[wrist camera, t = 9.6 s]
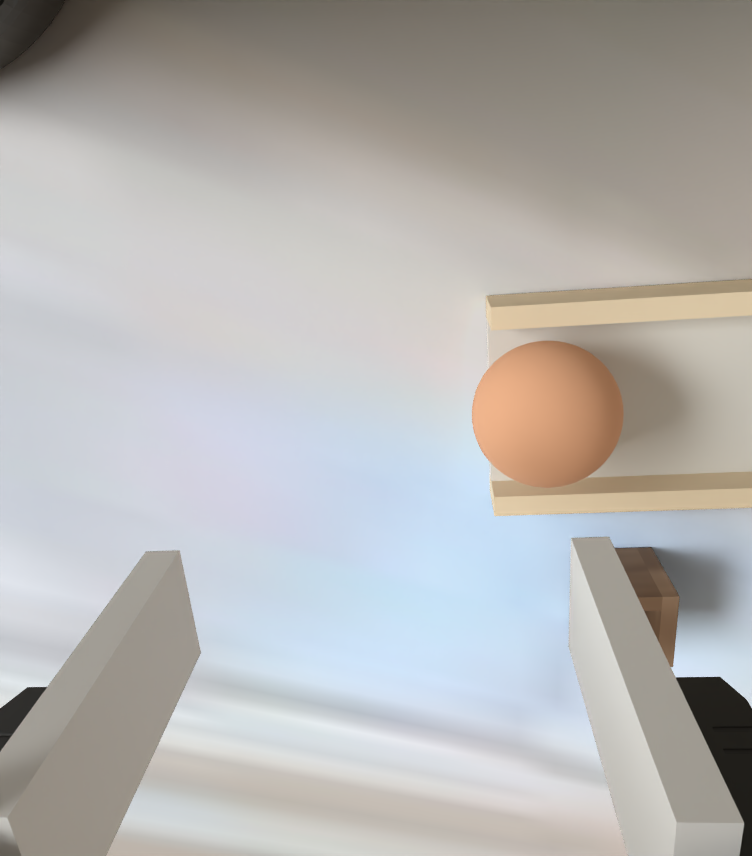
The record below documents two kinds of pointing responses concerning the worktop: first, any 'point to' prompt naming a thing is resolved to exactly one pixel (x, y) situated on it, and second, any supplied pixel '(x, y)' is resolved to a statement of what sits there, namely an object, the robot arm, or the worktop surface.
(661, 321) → the runway
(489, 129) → the worktop surface
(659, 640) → the wooden square sleeve
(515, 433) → the ball
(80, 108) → the worktop surface
